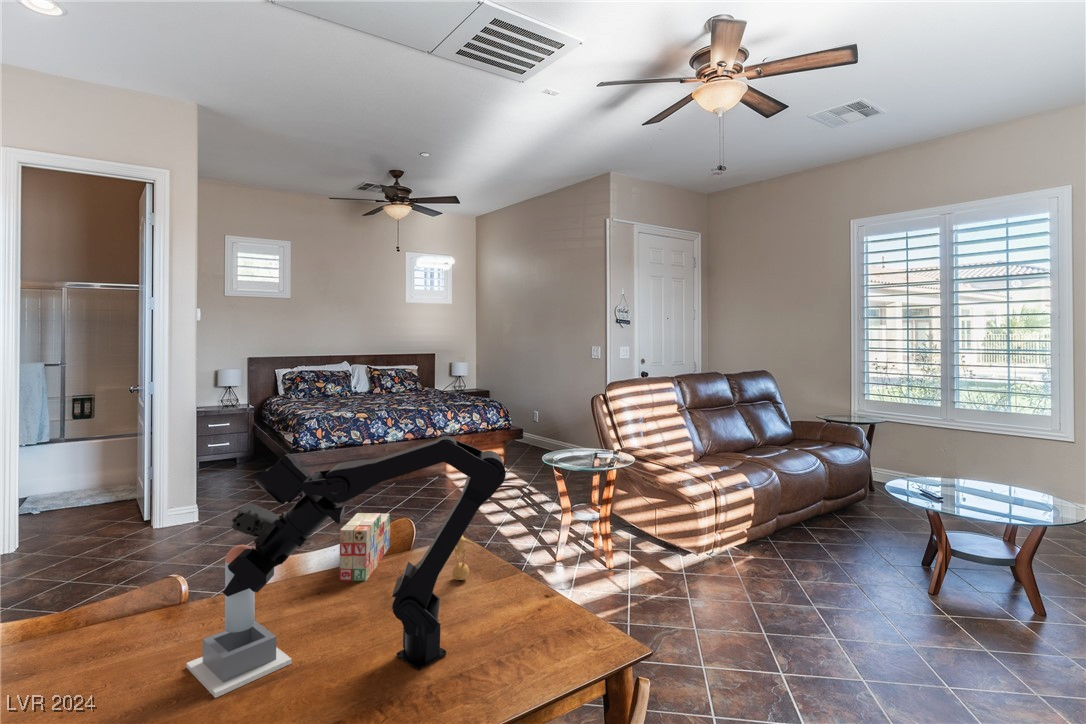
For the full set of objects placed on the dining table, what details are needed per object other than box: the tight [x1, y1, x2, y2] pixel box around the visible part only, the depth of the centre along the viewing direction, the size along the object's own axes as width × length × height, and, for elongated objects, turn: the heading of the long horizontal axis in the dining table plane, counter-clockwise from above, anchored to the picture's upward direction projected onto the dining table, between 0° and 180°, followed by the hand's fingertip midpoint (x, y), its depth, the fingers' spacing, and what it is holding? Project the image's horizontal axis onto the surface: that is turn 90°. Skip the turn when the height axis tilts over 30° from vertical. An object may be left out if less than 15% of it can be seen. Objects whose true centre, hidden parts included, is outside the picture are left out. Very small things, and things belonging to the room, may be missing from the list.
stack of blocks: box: [338, 512, 391, 582], centre depth 136 cm, size 21×6×12 cm, turn 1°
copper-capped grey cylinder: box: [224, 544, 256, 632], centre depth 92 cm, size 4×4×14 cm
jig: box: [186, 620, 293, 699], centre depth 92 cm, size 12×12×5 cm
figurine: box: [451, 534, 479, 581], centre depth 126 cm, size 8×6×12 cm
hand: (231, 587), depth 92 cm, fingers closed on copper-capped grey cylinder, 4 cm apart
